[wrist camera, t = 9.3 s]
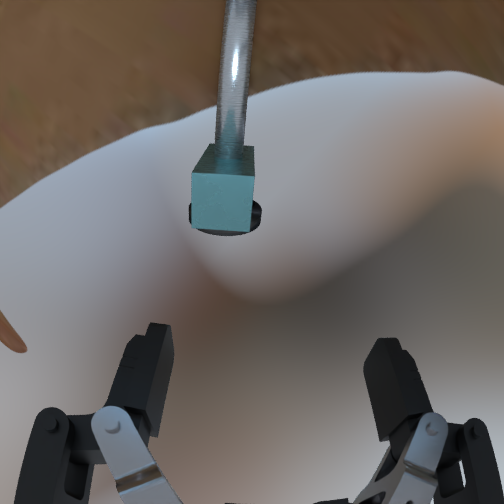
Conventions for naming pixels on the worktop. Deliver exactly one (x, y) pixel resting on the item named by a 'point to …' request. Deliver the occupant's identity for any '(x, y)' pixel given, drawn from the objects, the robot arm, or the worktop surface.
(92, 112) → the worktop surface
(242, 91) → the rod with teal cap
